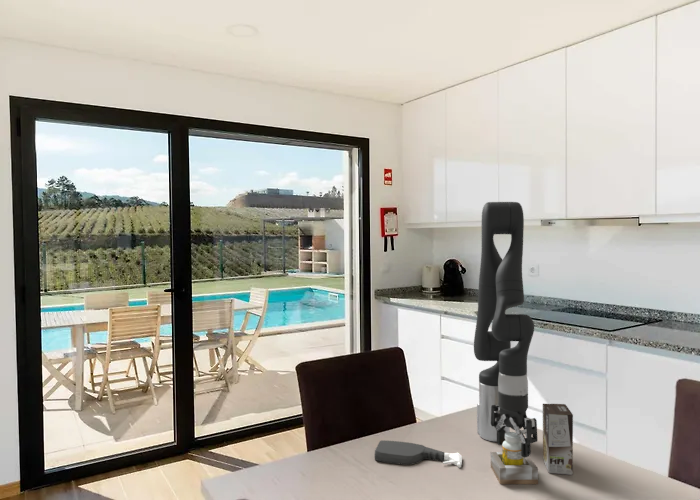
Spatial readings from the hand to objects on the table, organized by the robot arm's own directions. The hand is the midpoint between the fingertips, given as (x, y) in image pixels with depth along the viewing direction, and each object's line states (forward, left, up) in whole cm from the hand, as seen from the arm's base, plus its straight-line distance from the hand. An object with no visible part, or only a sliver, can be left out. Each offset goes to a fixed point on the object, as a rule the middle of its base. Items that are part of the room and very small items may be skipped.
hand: (513, 450), depth 136 cm
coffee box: (+2, +14, -7) cm, 16 cm away
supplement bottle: (0, 0, -6) cm, 6 cm away
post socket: (0, 0, -7) cm, 7 cm away
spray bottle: (-21, -16, -7) cm, 27 cm away
